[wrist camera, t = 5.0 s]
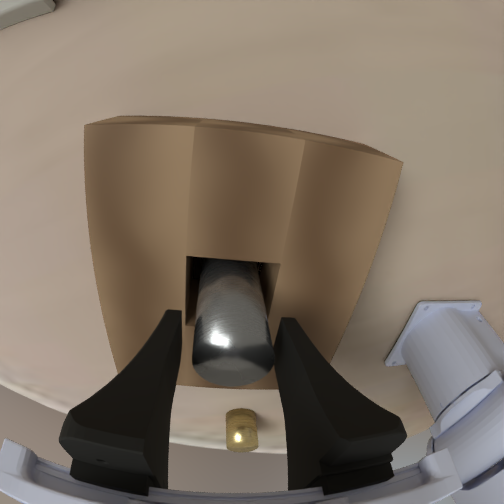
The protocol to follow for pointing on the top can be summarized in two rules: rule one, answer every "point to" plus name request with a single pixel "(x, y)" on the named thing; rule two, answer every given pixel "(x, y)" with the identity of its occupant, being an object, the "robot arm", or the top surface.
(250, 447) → the short pin
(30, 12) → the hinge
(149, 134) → the hole block
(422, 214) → the top surface
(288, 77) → the top surface
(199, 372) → the tall pin
